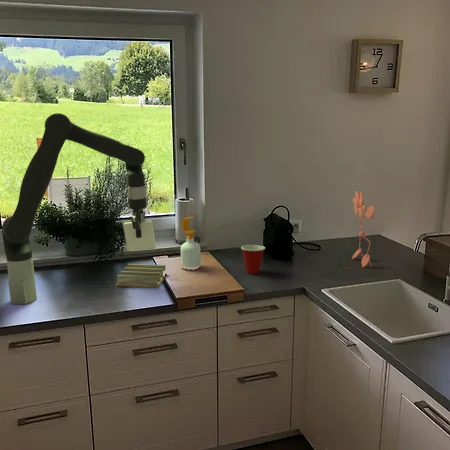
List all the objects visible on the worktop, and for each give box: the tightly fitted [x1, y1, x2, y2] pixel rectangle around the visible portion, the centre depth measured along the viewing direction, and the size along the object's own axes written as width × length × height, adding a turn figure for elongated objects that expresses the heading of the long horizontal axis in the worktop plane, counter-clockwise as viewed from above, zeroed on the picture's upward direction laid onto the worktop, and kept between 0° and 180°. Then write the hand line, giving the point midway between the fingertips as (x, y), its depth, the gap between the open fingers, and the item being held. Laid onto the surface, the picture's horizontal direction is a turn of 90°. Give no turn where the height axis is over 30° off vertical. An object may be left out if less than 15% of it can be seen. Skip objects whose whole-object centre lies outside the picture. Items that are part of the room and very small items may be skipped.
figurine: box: [345, 190, 375, 271], centre depth 226 cm, size 15×26×35 cm, turn 5°
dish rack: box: [115, 263, 166, 289], centre depth 211 cm, size 16×18×4 cm
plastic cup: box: [240, 244, 266, 275], centre depth 219 cm, size 11×11×12 cm
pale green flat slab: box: [122, 219, 157, 252], centre depth 207 cm, size 2×12×12 cm, turn 83°
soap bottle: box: [180, 215, 202, 267], centre depth 223 cm, size 9×9×25 cm
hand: (139, 236), depth 207 cm, fingers closed on pale green flat slab, 2 cm apart
